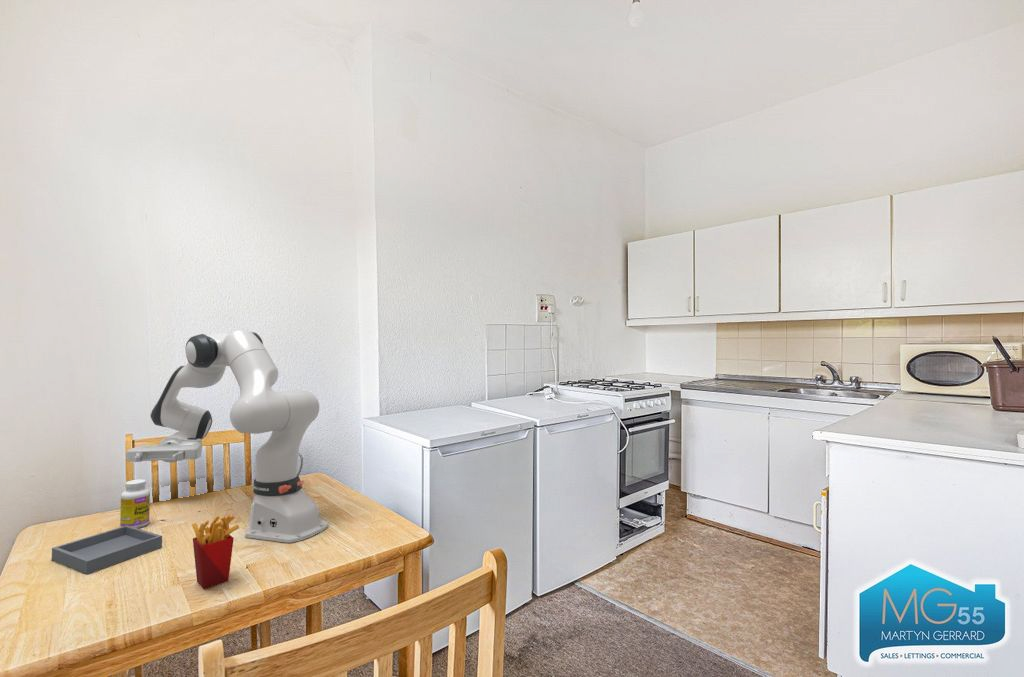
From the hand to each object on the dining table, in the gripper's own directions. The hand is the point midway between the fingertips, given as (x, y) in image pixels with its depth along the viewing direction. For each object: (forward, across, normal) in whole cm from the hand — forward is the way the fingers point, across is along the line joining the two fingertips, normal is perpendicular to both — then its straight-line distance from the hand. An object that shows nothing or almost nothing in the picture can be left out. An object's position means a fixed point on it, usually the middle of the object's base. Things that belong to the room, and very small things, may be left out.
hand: (154, 458), depth 150 cm
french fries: (+54, +34, +16) cm, 65 cm away
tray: (+32, +3, +16) cm, 35 cm away
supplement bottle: (+12, 0, +16) cm, 21 cm away
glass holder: (-13, +36, +16) cm, 42 cm away
